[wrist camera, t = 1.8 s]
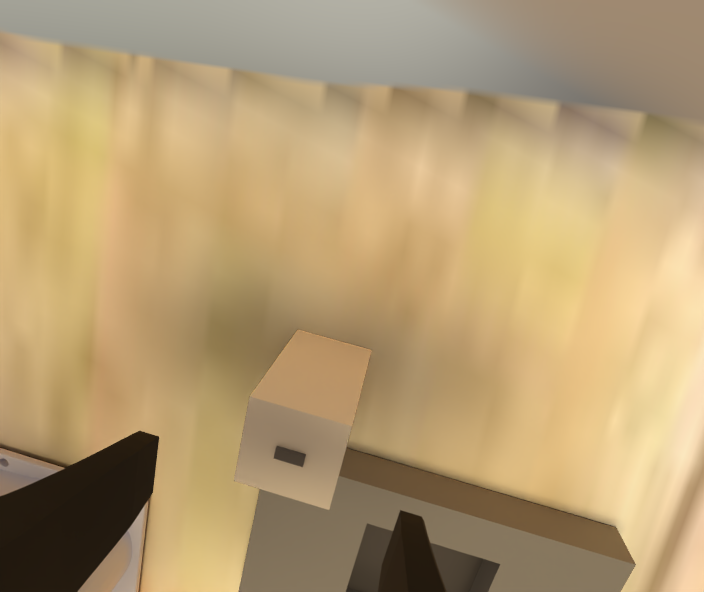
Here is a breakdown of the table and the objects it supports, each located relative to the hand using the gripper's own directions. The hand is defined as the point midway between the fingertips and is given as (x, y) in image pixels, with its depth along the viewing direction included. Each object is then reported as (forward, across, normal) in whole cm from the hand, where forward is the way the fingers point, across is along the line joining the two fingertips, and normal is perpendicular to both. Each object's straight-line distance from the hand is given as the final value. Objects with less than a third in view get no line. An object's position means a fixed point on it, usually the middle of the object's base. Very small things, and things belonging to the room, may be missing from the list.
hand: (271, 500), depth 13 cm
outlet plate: (+8, -6, +9) cm, 13 cm away
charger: (+8, 0, 0) cm, 8 cm away
